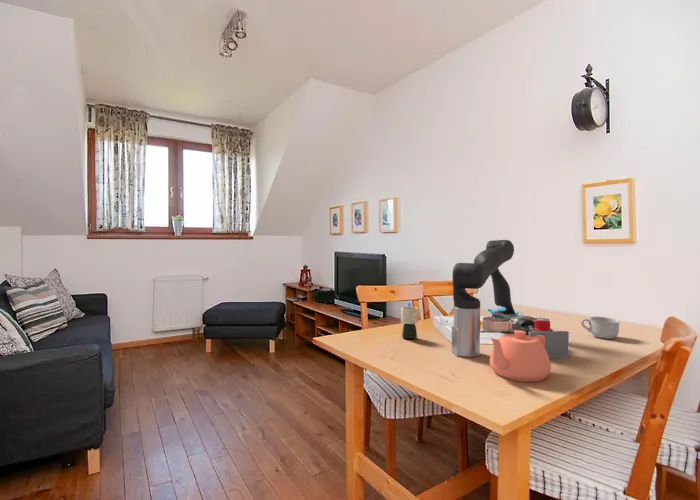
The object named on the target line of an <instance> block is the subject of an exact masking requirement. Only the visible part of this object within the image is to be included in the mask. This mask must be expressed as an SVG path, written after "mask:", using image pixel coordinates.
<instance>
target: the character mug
mask: <svg viewBox="0 0 700 500" xmlns="http://www.w3.org/2000/svg"><path fill="white" fill-rule="evenodd" d="M400 321H401V323H402V324H403V326H402V327H403V328H402V335H401V337H402V338H403V339H410V340H411V339H416V338H418V335H417V334H418V333H417V328H416V327H417V326H416V324H417V323H418V322H419V307H417V306H401V308H400Z"/></svg>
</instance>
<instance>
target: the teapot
mask: <svg viewBox="0 0 700 500" xmlns="http://www.w3.org/2000/svg"><path fill="white" fill-rule="evenodd" d="M489 339H490V340H491V341H492V344H493V347H492V348H493V349H492V351H491V353H490V356H489V357H490V358H489V365H490V368H491V369H492V371H493V373H495V374H496V375H498V376H499V377H502V378H504V379H508V380H510V381H513V382H514V381H515V382H520V383H535V382H537V383H538V382H541V381H543V380H545V379H546V378H547V377H548V376H549V375H550V374H551V370H552V364H551V361H550V359H551V358H549V356H548V354H547V352H546V350H545V348H544V345H545V337H544V336H542V335H537V336H534V337H532V336H528V335H526V332H525V331H522V330H515V331H513V333H507V334H503V335H501V336H499V338H498V339H496V338H492V337H489Z"/></svg>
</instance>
